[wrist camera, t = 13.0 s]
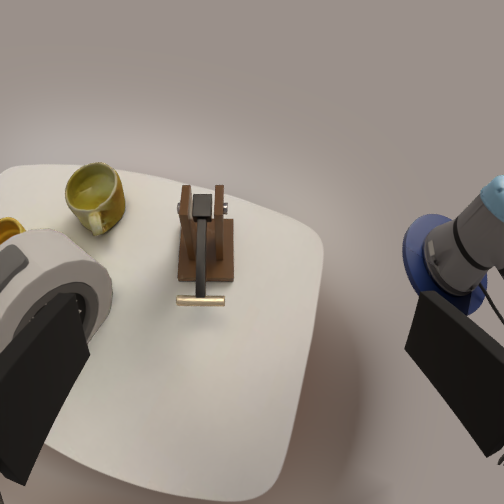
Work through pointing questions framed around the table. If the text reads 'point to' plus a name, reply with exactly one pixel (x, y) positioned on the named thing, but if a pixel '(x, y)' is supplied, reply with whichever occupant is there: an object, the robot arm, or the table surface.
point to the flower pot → (9, 228)
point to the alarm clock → (49, 281)
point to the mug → (96, 197)
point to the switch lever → (201, 255)
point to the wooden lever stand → (216, 242)
